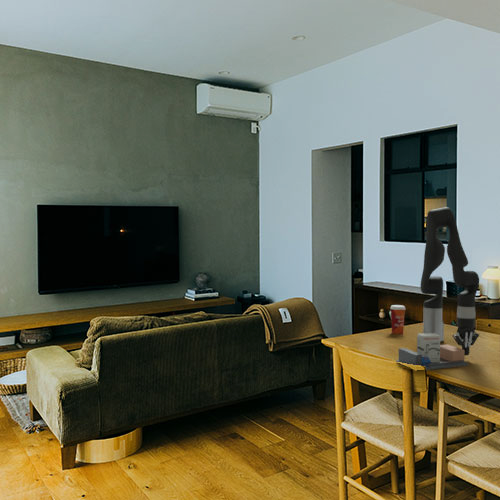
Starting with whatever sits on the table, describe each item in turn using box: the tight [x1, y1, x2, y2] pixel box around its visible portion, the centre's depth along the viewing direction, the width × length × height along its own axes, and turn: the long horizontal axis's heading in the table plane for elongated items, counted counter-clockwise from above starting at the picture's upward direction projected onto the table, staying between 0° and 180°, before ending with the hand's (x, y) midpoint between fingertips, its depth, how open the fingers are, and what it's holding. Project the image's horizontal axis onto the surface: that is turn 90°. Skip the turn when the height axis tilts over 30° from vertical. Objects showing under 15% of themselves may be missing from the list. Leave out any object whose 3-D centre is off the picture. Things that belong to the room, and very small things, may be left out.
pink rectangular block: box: [440, 344, 465, 361], centre depth 225 cm, size 6×11×5 cm, turn 18°
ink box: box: [416, 332, 441, 363], centre depth 222 cm, size 9×5×12 cm, turn 97°
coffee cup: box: [389, 304, 406, 335], centre depth 285 cm, size 8×8×15 cm
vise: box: [395, 347, 469, 371], centre depth 222 cm, size 26×14×6 cm, turn 108°
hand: (465, 355), depth 228 cm, fingers closed
